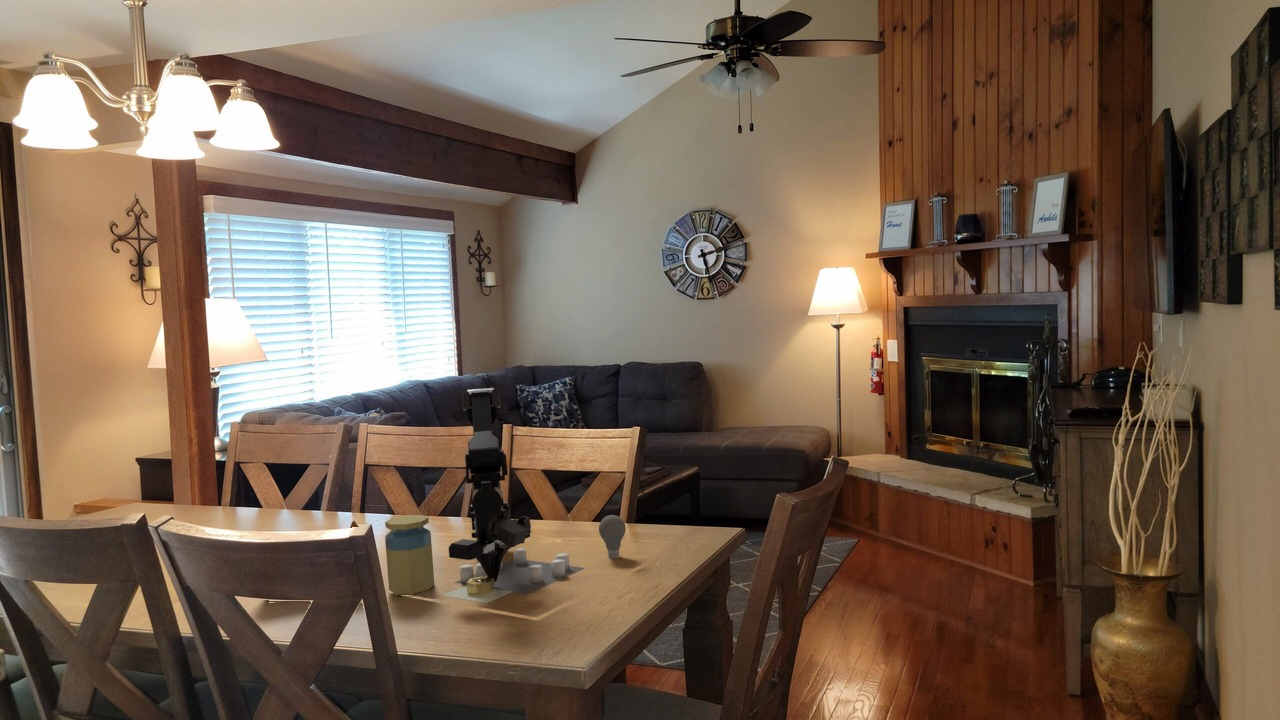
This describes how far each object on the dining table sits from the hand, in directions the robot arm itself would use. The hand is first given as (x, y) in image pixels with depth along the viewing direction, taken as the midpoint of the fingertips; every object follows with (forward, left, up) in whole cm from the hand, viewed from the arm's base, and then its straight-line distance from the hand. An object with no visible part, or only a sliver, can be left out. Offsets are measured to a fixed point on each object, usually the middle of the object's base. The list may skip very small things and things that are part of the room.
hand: (493, 581), depth 186 cm
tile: (0, -5, -2) cm, 5 cm away
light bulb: (+11, +27, -2) cm, 30 cm away
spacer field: (0, +8, -2) cm, 8 cm away
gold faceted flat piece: (-1, -3, -1) cm, 3 cm away
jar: (-16, -8, -2) cm, 18 cm away
